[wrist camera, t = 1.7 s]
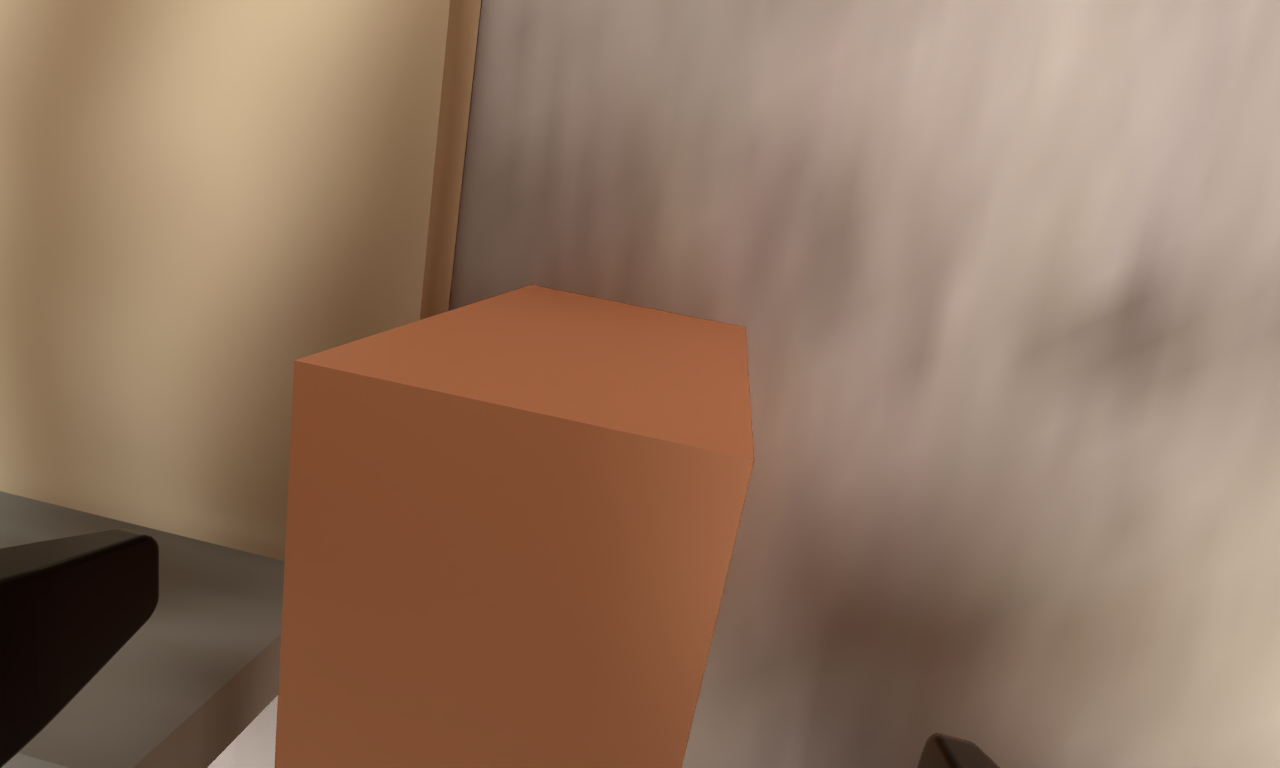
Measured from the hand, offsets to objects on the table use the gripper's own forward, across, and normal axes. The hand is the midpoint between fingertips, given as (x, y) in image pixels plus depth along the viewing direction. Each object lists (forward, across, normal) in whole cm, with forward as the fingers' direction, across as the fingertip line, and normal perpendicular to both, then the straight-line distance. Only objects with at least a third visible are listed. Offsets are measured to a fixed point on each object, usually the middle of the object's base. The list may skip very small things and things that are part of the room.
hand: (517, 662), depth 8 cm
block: (+6, 0, 0) cm, 6 cm away
